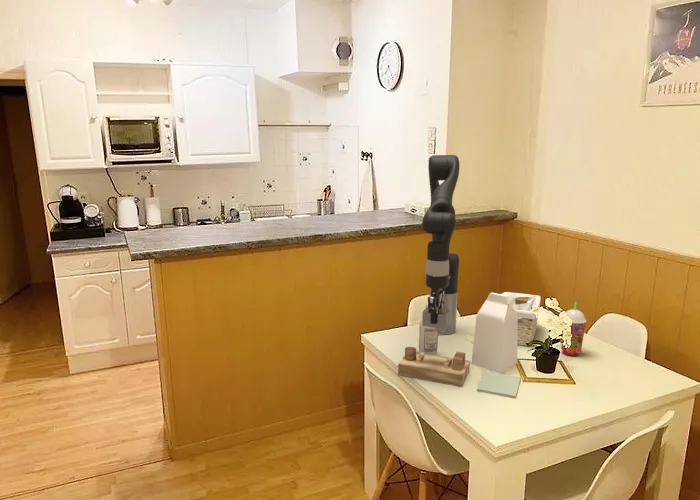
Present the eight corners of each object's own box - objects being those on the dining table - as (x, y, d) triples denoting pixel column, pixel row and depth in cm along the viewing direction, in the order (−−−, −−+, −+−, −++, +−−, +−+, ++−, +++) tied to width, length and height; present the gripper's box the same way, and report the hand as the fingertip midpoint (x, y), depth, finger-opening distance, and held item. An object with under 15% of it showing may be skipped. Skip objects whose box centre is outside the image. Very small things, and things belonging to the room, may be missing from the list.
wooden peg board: (408, 360, 189) (409, 340, 187) (469, 371, 180) (470, 350, 179) (398, 374, 178) (398, 353, 177) (462, 386, 170) (463, 364, 168)
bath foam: (441, 355, 193) (443, 304, 189) (427, 360, 189) (429, 308, 185) (427, 349, 199) (429, 299, 194) (414, 353, 195) (416, 302, 190)
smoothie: (558, 355, 192) (563, 304, 188) (558, 347, 200) (563, 297, 195) (583, 359, 189) (588, 307, 185) (582, 350, 197) (587, 300, 192)
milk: (471, 363, 186) (474, 294, 181) (486, 353, 195) (490, 287, 189) (502, 373, 178) (506, 302, 173) (517, 363, 187) (522, 294, 181)
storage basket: (500, 322, 226) (502, 290, 223) (539, 328, 220) (542, 294, 216) (490, 342, 205) (492, 307, 202) (533, 349, 199) (536, 312, 195)
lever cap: (426, 320, 179) (426, 305, 178) (449, 324, 176) (449, 308, 175) (422, 325, 175) (422, 310, 173) (445, 329, 172) (446, 313, 170)
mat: (484, 372, 179) (484, 370, 179) (520, 379, 175) (520, 376, 174) (476, 391, 167) (477, 388, 167) (515, 398, 162) (515, 396, 162)
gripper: (432, 265, 179) (430, 312, 183) (420, 276, 166) (419, 326, 170) (453, 268, 176) (451, 315, 180) (443, 279, 163) (441, 329, 167)
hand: (435, 320), depth 175 cm, fingers closed on lever cap, 5 cm apart
